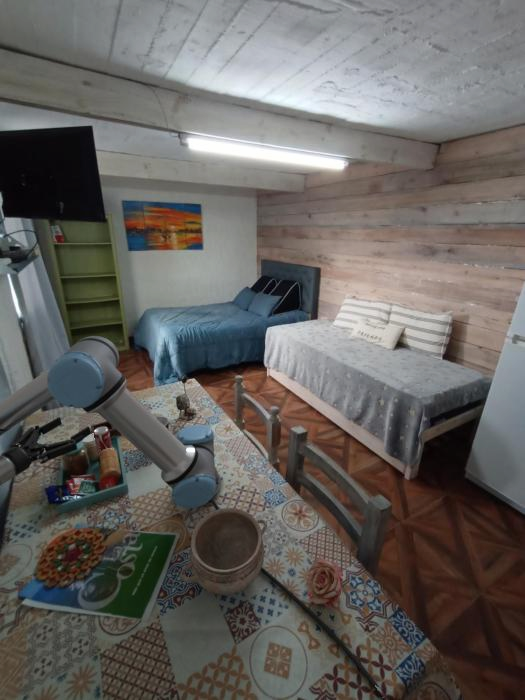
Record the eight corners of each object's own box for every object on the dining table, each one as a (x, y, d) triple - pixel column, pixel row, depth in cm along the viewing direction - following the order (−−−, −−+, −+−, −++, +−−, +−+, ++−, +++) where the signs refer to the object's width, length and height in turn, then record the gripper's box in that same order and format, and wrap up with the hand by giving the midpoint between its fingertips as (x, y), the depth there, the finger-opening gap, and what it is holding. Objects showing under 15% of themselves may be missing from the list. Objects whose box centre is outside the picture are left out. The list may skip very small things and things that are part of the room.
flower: (322, 557, 85) (311, 550, 80) (355, 574, 79) (345, 568, 74) (309, 598, 80) (296, 592, 76) (342, 619, 74) (331, 615, 70)
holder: (134, 429, 139) (133, 423, 138) (94, 441, 131) (93, 435, 130) (130, 420, 146) (129, 414, 145) (91, 431, 137) (90, 425, 136)
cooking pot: (202, 639, 69) (199, 603, 64) (168, 570, 83) (163, 536, 78) (287, 569, 83) (289, 536, 79) (245, 520, 97) (246, 489, 93)
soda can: (95, 458, 121) (90, 432, 117) (105, 450, 126) (100, 424, 122) (106, 461, 120) (101, 435, 116) (116, 452, 125) (111, 427, 120)
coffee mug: (167, 449, 127) (165, 428, 123) (146, 449, 127) (143, 428, 124) (175, 432, 138) (173, 412, 134) (155, 431, 138) (153, 412, 134)
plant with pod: (171, 418, 148) (168, 380, 141) (190, 408, 157) (187, 371, 150) (183, 424, 144) (180, 385, 137) (201, 413, 152) (199, 376, 145)
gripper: (-17, 463, 94) (51, 426, 113) (41, 489, 86) (104, 443, 105) (-24, 443, 92) (46, 407, 110) (35, 467, 83) (100, 424, 102)
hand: (74, 425), depth 108 cm, fingers open, 13 cm apart
